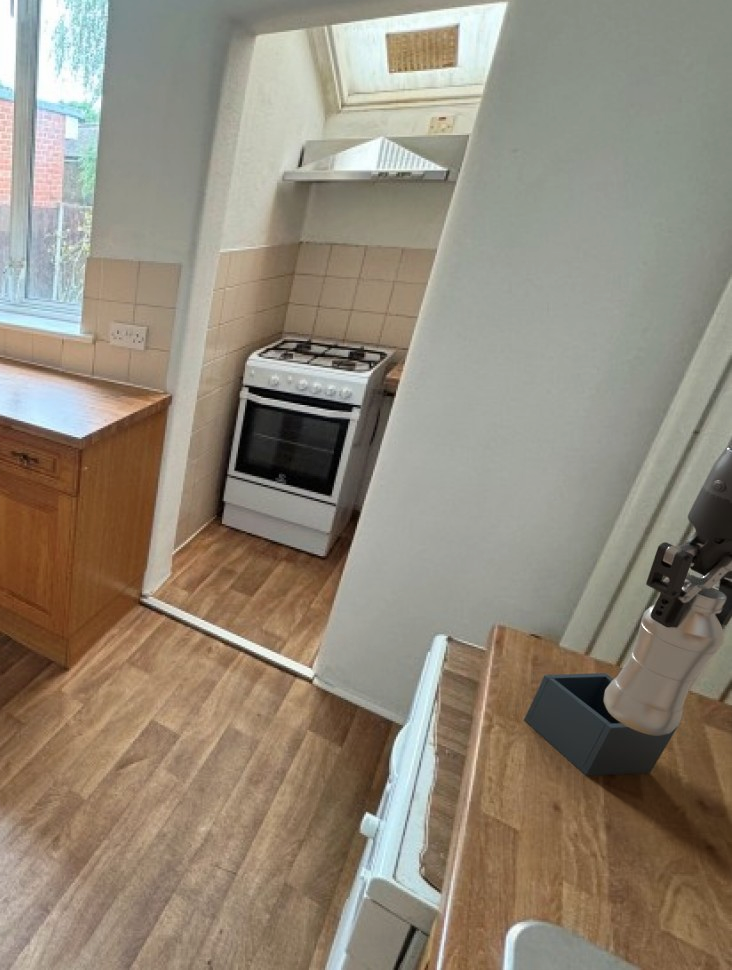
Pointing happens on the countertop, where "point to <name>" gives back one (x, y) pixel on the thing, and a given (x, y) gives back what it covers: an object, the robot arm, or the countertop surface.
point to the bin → (590, 727)
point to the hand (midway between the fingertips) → (687, 621)
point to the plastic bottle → (666, 666)
